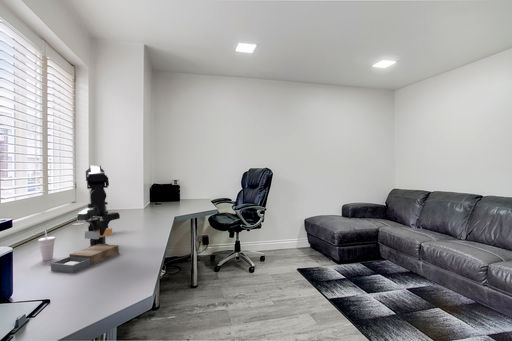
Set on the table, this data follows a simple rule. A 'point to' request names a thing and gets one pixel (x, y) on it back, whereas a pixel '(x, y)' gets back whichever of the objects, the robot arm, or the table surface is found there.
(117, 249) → the tan block
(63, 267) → the box
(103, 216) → the robot arm
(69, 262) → the tile
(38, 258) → the table surface
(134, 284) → the table surface
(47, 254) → the smoothie
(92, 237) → the scraper
